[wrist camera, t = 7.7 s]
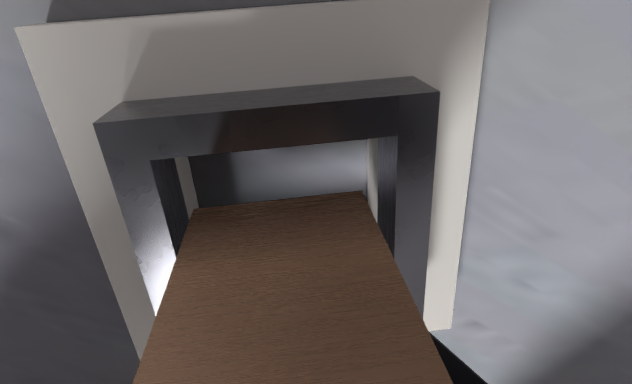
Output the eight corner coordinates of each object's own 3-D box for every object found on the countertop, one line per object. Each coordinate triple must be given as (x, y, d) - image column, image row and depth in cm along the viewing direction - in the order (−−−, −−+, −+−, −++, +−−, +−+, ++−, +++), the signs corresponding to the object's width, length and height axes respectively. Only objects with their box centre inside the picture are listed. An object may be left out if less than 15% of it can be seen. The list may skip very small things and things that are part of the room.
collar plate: (153, 338, 16) (125, 418, 13) (44, 22, 11) (-44, 34, 8) (436, 302, 17) (474, 371, 14) (466, -9, 12) (537, -10, 9)
